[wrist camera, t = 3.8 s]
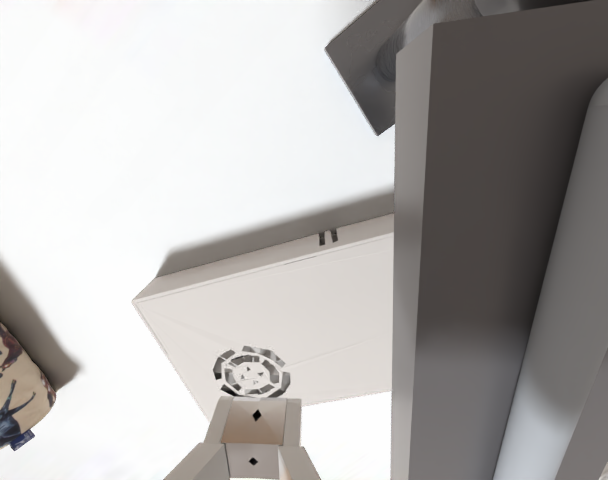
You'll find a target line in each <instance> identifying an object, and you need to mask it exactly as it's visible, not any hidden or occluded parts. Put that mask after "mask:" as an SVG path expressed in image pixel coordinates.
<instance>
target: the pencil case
mask: <svg viewBox="0 0 608 480" xmlns="http://www.w3.org/2000/svg"><path fill="white" fill-rule="evenodd" d="M55 400H56V393H55V391H54V390H53V388H52V387H51V386H50V384H49V381H48V380H47V378H46V377H45V375H44V374H43V372H42V371H41V370H40V369H39V368H38V366H37V365H36V364H35V363H33V362H32V361H31V359H30V357H29V356H28V354H27V353H26V352H25V350H24V349H23V348H22V346H21V345H20V344H19V342H18V341H17V340H16V339H15V338H14V337H13V336H12V335H11V334H10V333H9V332H8V330H7V328H6V327H5V326H4V325H3V324H2V323H1V322H0V449H2V448H4V447H5V446H7V445H9V444H10V446H11V448H12V449H13V450H14V451H16V450H17V449H18V448H20V447H21V446H22V445H24V444H25V443H27V442H28V441H29V440H31V439H32V438H34V437H35V435H34V434H33V433H32V431H31V430H30V429H31V428H32V427H33V426H35V425H36V424H37V423H38V422H39V421H41V420H42V419H43V418H44V417H45V416H46V415H47V414H48V412H49V411H50V410H51V408H52V406H53V405H54V403H55Z"/></svg>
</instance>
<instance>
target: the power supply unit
mask: <svg viewBox="0 0 608 480" xmlns="http://www.w3.org/2000/svg"><path fill="white" fill-rule="evenodd" d="M336 231H337V234H334V235H332V233H331V231H330V230H329V231H324V233H325V237H323V238H320V236H319V233H318V234H314V235H311V236H307V237H303V238H300V239H296V240H292V241H289V242H285V243H281V244H278V245H274V246H270V247H267V248H263V249H259V250H256V251H252V252H248V253H245V254H241V255H237V256H234V257H230V258H226V259H223V260H219V261H215V262H212V263H208V264H204V265H201V266H197V267H193V268H189V269H186V270H182V271H178V272H175V273H171V274H167V275H164V276H160V277H157V278H154V279H153V280H152V281H151V282H150V283H149V284H148V285H147V286H146V287H145V288H144V289H143V290H142V291H141V292H140V293H139V294H138V295H137V296H136V297H135V298H134V299H133V300H132V302H131V303H132V304H133V306H134V307H135V309H136V311H137V312H138V314H139V315H140V317H141V318H142V320H143V321H144V323H145V324H146V326H147V327H148V329H149V331H150V332H151V334H152V335H153V337H154V338H155V340H156V341H157V343H158V344H159V346H160V348H161V349H162V351H163V352H164V354H165V355H166V357H167V358H168V360H169V361H170V363H171V364H172V366H173V368H174V369H175V371H176V372H177V374H178V375H179V377H180V378H181V380H182V381H183V383H184V384H185V386H186V388H187V389H188V391H189V392H190V394H191V395H192V397H193V398H194V400H195V401H196V403H197V404H198V406H199V408H200V409H201V411H202V412H203V414H204V415H205V417H206V418H207V420H208V421H209V422H211V419H212V417H213V414H214V411H215V408H216V405H217V402H218V400H219V398H220V397H221V396H235V397H253V398H261V397H267V398H299V399H301V400H302V404H301V407H303V406H308V405H314V404H320V403H325V402H331V401H337V400H342V399H348V398H354V397H359V396H365V395H370V394H376V393H382V392H387V391H392V333H393V256H394V213H391V214H388V215H384V216H380V217H376V218H373V219H369V220H365V221H361V222H358V223H354V224H350V225H347V226H343V227H339V228H336Z"/></svg>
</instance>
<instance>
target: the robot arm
mask: <svg viewBox="0 0 608 480" xmlns="http://www.w3.org/2000/svg"><path fill="white" fill-rule="evenodd" d="M301 404H302V400H301V399H299V398H267V397H261V398H253V397H235V396H221V397H220V398H219V400H218V402H217V405H216V408H215V411H214V414H213V417H212V419H211V422H210V425H209V428H208V431H207V434H206V437H205V440H204V443H199V444H198V445H197V446H196V447H195V448H194V449H193V450H192V451H191V452H190V453H189V454H188V455H187V456H186V457H185V458H184V459H183V460H182V461H181V462H180V463H179V464H178V465H177V466H176V467H175V468H174V469H173V470H172V471H171V472H170V473H169V474H168V475H167V476H166V477H165V478H164V479H163V480H230V478H262V479H276V480H321V479H320V477H319V475H318V473H317V471H316V469H315V467H314V465H313V463H312V461H311V460H310V458H309V456H308V454H307V452H306V450H305V448H304V447H302V446H301Z"/></svg>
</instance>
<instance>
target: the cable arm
mask: <svg viewBox="0 0 608 480" xmlns="http://www.w3.org/2000/svg"><path fill="white" fill-rule="evenodd" d="M475 3H476V5H477V7H478V9H479V11H480V13H481V14H482V15H483V16H482V17H475V18H468V19H461V20H454V21H448V22H441V23H434V24H432V25H431V26H430V27H429V28H427V29H426V30H425V31H424V32H422V33H421V34H420V35H419V36H418V37H416V38H415V39H414V40H413V41H411V42H410V43H409V44H408V45H407V46H405V47H404V48H403V49H402V50H400V51H399V52H398V53H397V54H396V102H395V179H394V256H393V333H392V410H391V480H599V478H600V476H601V474H602V472H603V470H604V468H605V466H606V464H607V462H608V0H475Z"/></svg>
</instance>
